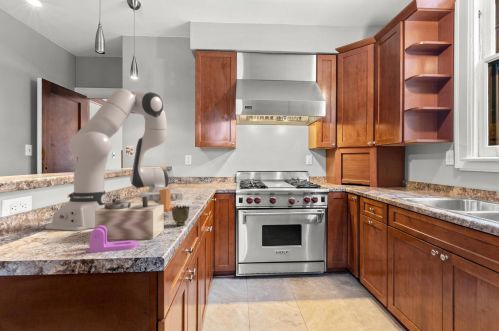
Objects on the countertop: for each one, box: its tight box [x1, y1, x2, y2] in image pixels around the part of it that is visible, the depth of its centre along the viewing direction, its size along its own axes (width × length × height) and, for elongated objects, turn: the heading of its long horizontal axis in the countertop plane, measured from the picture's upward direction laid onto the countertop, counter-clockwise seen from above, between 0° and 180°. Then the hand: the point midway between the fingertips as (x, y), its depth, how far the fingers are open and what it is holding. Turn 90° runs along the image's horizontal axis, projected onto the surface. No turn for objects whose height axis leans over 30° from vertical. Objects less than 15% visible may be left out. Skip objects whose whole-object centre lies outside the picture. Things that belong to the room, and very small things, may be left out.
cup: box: [171, 205, 190, 227], centre depth 116 cm, size 8×7×8 cm
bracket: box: [89, 225, 139, 254], centre depth 86 cm, size 13×6×7 cm, turn 109°
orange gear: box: [158, 189, 173, 213], centre depth 130 cm, size 9×9×10 cm
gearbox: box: [94, 196, 165, 240], centre depth 102 cm, size 20×13×14 cm, turn 92°
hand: (165, 198), depth 129 cm, fingers closed on orange gear, 5 cm apart
